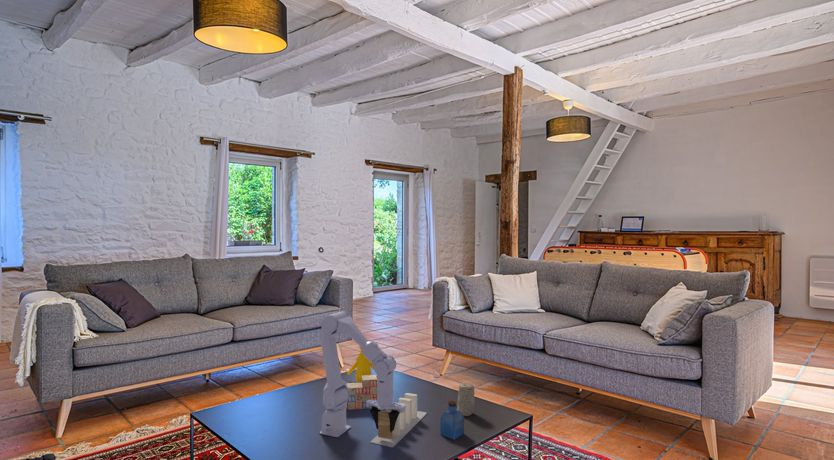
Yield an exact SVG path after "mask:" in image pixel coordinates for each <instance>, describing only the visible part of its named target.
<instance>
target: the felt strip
mask: <svg viewBox="0 0 834 460" xmlns="http://www.w3.org/2000/svg"><path fill="white" fill-rule="evenodd" d="M427 414H428V412H426V411H420V410H417V418H416V419H414V418H412V422H411V423H410V424H407V423H406V428H405V429H404V430H402V429H400V434H399V435H398V436H395V435H392V438H391V439H390V440H389V439H385V438H380V437H378V434H377V435H376V436H375V437H373V439H371V441H369V442H370V443H371V444H375V445H380V446H384V447H389V448H394V447H395V446H396V445H397V444H398V443H399V442H400V441H402V439H403V438H404V437H405V436H406V435H407V434H408V433H409V432H411V431H412V430H413V429H414V427H415V426H416V425H417V424H418V423H419V422H420V421H421V420H422V419H423V418H424V417H425V416H427Z"/></svg>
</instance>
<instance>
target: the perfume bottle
mask: <svg viewBox="0 0 834 460" xmlns="http://www.w3.org/2000/svg"><path fill="white" fill-rule="evenodd" d="M447 403H448V404H447V409H446V410H445V411H444V412H442V415H441V416H440V419H439V420H440V425H439V426H440V427H439V428H440V431H439V432H440V434H439V435H440V436H443V437H445V438H448V439H451V440H456V439H458V438H460V437H461V436H463V435H464V434H465V416H463V415H462V413H461V412H460V411H459V410H458V406H457V405H458V401H456V400H448V402H447Z"/></svg>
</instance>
